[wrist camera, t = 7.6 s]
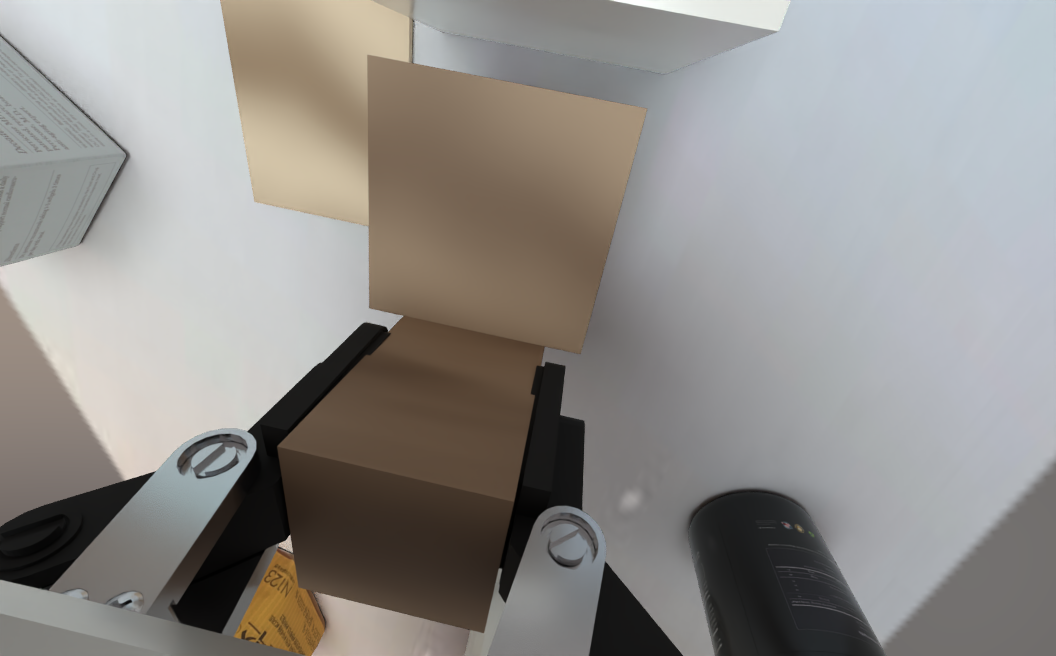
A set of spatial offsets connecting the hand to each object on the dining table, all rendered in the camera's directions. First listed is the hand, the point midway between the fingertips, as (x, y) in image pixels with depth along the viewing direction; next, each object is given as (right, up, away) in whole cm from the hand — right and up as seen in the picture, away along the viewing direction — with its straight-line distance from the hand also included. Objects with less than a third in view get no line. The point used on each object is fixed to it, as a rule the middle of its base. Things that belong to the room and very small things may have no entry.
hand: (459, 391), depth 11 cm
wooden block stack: (+1, +3, 0) cm, 3 cm away
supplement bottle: (+15, -10, +13) cm, 22 cm away
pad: (-6, +11, +5) cm, 13 cm away
